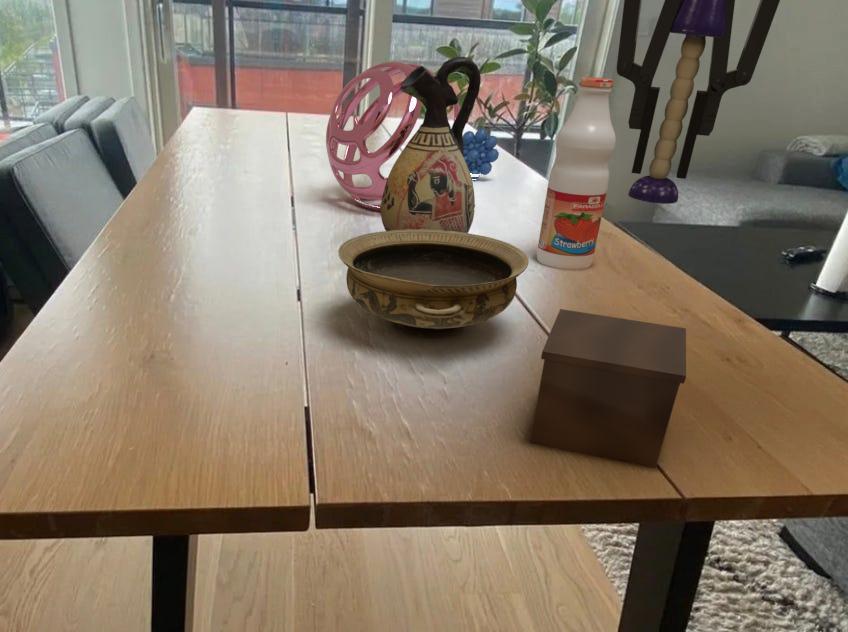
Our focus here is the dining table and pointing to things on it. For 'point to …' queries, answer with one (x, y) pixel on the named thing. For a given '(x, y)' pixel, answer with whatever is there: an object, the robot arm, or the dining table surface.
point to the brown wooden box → (608, 386)
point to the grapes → (479, 151)
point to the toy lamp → (680, 94)
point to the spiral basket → (370, 129)
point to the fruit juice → (578, 180)
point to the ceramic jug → (434, 158)
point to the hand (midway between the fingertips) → (659, 172)
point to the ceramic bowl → (432, 277)
